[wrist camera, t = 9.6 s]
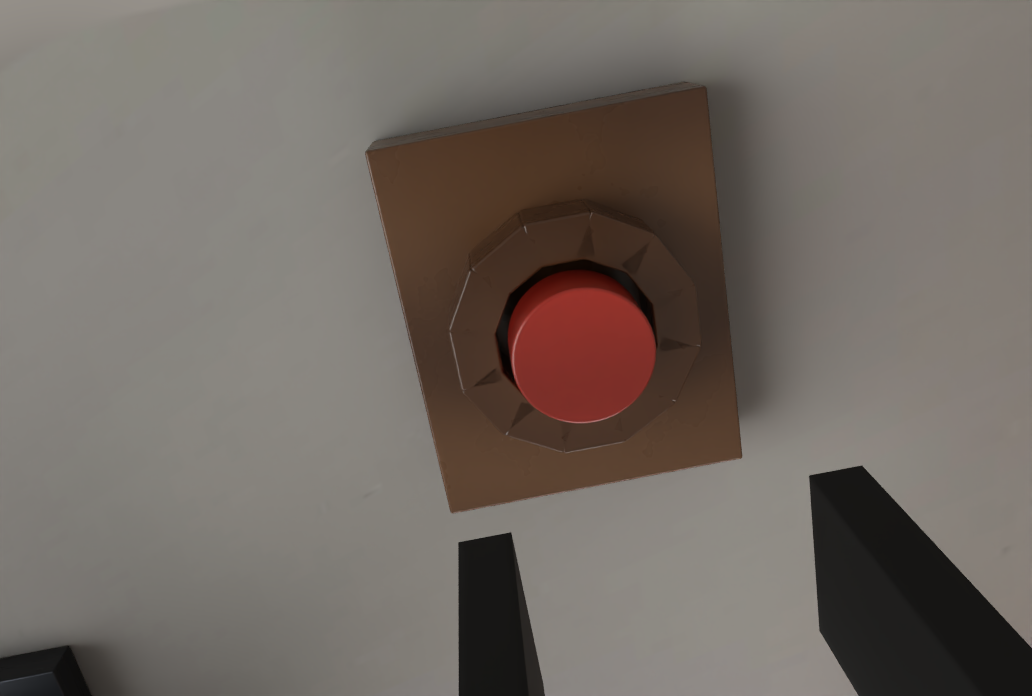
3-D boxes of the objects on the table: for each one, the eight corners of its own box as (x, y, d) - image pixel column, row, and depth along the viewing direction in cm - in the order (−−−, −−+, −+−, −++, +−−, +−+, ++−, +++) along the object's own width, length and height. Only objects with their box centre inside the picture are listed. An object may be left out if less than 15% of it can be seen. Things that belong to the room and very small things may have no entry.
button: (495, 283, 22) (498, 303, 21) (633, 256, 22) (647, 274, 21) (520, 408, 23) (525, 436, 22) (650, 383, 23) (664, 410, 22)
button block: (372, 141, 24) (356, 161, 21) (685, 81, 24) (727, 90, 21) (451, 479, 28) (450, 548, 24) (722, 427, 28) (762, 488, 24)
